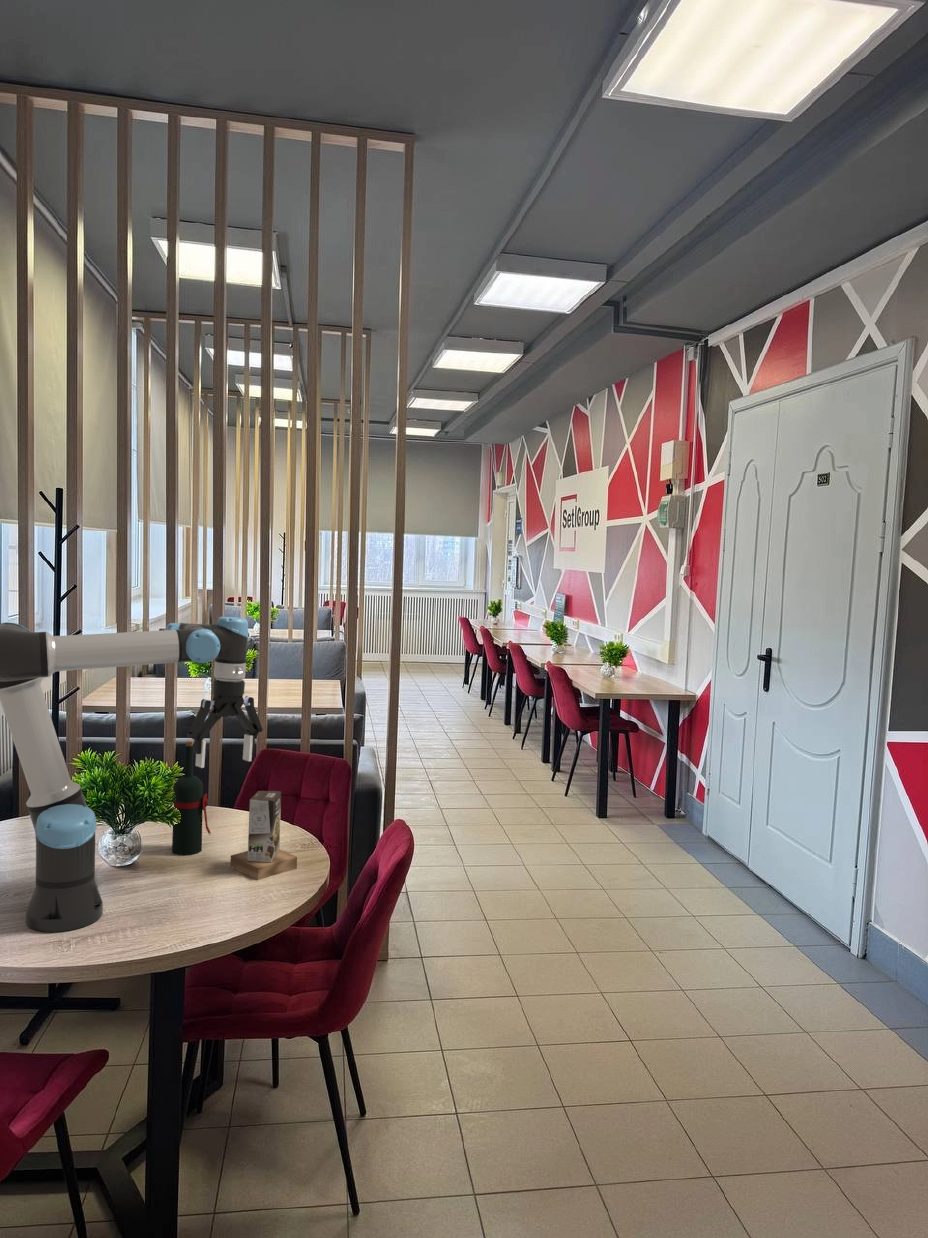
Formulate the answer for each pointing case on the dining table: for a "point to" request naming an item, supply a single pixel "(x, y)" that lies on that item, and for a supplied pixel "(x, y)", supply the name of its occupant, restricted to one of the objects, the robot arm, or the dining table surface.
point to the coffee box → (264, 826)
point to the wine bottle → (189, 809)
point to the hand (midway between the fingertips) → (223, 763)
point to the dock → (263, 864)
